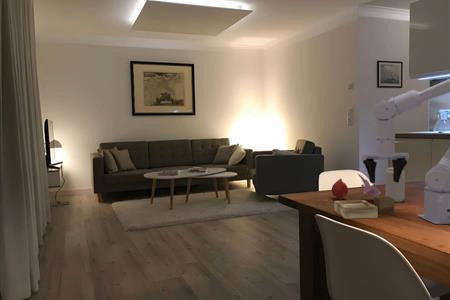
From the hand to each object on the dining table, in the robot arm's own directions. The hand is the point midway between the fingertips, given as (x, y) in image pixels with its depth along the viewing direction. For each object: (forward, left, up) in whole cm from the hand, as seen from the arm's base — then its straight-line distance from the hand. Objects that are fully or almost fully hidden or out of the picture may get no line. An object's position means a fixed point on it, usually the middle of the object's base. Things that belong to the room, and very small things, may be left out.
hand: (384, 182), depth 118 cm
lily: (+16, -2, -10) cm, 19 cm away
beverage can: (+17, -12, -10) cm, 23 cm away
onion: (+21, +7, -10) cm, 24 cm away
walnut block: (0, 0, -10) cm, 10 cm away
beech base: (-1, +9, -10) cm, 14 cm away
